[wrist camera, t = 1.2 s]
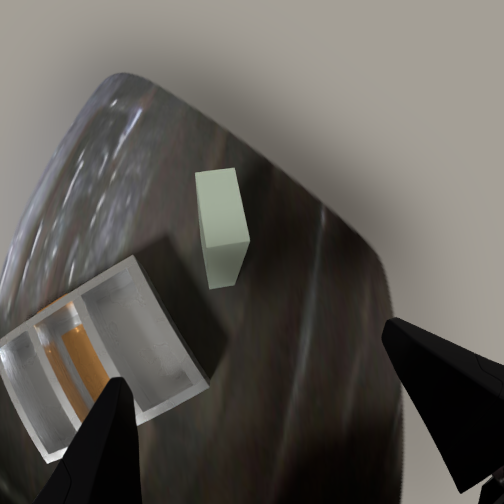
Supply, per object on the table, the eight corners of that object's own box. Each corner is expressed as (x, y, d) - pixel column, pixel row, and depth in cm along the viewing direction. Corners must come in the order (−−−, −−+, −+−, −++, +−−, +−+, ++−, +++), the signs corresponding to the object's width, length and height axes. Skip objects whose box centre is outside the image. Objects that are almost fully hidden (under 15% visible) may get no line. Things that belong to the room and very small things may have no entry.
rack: (210, 379, 20) (209, 387, 17) (67, 450, 16) (47, 463, 13) (143, 265, 22) (131, 250, 19) (14, 345, 18) (-11, 342, 15)
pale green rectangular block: (234, 285, 23) (250, 240, 13) (209, 289, 22) (206, 247, 13) (225, 237, 24) (234, 167, 14) (201, 241, 24) (195, 172, 14)
